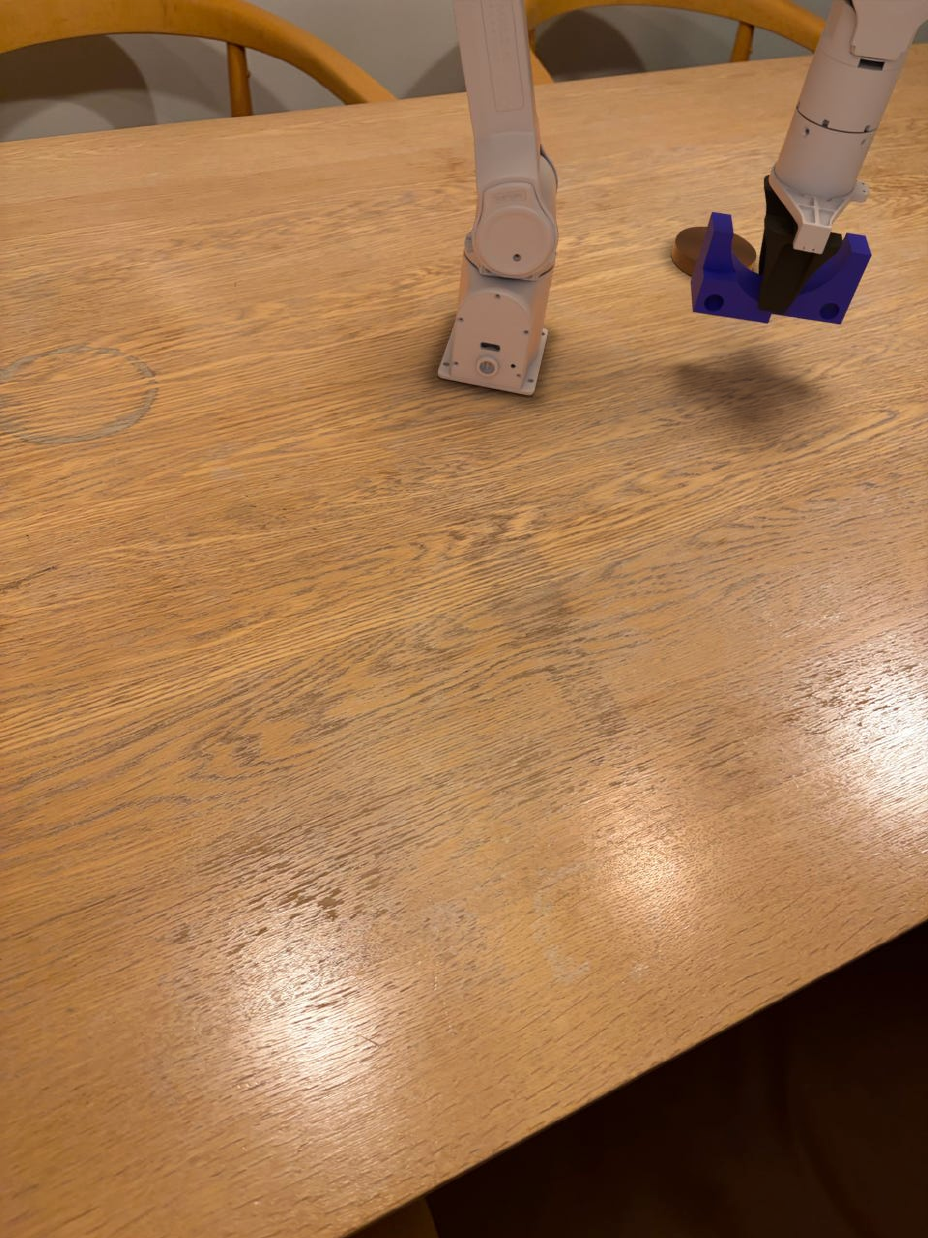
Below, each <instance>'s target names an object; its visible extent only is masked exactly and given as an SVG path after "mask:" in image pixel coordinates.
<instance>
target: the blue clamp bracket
mask: <svg viewBox="0 0 928 1238" xmlns="http://www.w3.org/2000/svg"><path fill="white" fill-rule="evenodd" d="M733 225H734V224H733V217H732V214H731V213H724V212H716V211H711V214H710V217H709V220H708V222H707V226H706V227H707V230H706V233H705V236H704V239H703V243H702V246H701V249H700V252H699V256H698V259H697V262H696V266H695V269H694V272H693V275H692V276H691V279H690V294H691V295H690V296H691V307H692V313H695V314H702V315H708V316H715V317H721V318H728V319H734V320H740V321H741V320H742V321H747V322H753V323H760V324H767V325H768V324H769V322H770V320H771V317H772V315H774V316H781V317H788V318H793V319H794V318H795V319H800V320H807V321H813V322H814V321H815V322H820V323H826V324H833V325H839V326H840V325H842V323H843V321H844V319H845V316H846V314H847V311H848V309H849V308H850V305H851V303H852V302H853V301H852V300H853V298H854V296H855V294H856V292H857V289H858V287H859V285H860V282H861V280H862V278H863V276H864V274H865V271H866V269H867V267H868V265H869V263H870V260H871V258H872V256H873V254H872V252H871V248H870V245H869V242H868V238H867V235H866V234H859V233H852V232H846V233H845V235H844V236H843V238H842V242H843V244H842V246H841V248H840V250H839V251H838V253H837V254H836V255H835V256H833V257H832V258H830V259H829V260H828V261H827V262H825V263H824V264H823V265H822V266H821V267H820V268H819V269H818V270H817V271H816V272H815V273H814V274H813V275H812V277H811V278H810V279H809V280H808V282H807V283H806V284H805V286H804V287H803V289H802V290H801V292H800V293H799V294H798V296H797V297H796V299H795V300H794V302H793V303H792V305H791V306H790V307H789V309H788V310H787V311H786V312H785V314H779V313H773V312H768V311H763V310H759V309H758V304H759V291H760V285H761V280H762V276H763V275H760V274H758V272H755V271H753V270H752V271H751V270H750V269H748V268H747V267H745V266H744V265H743V264H742V263H741V262H740V261H739V260H738V259H737V257H736V256H735V254H734V252H733V250H732V248H731V244H732V239H733V235H734V233H735V231H734V226H733Z"/></svg>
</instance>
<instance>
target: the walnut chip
mask: <svg viewBox="0 0 928 1238" xmlns="http://www.w3.org/2000/svg"><path fill="white" fill-rule="evenodd" d="M706 230H707V226H705V225H704V226H701V225H700V226H691V227H687V228H684V229H682V230H681V231H679V232H678V233H677V234H676V235H675V238H674V242H673V245H672V249H671V253H670V254H671V255H670V256H671V259H672V261H673V263H674V264H675V266H676V267H677V268H678V269H680V270H681V271H682V272H684V273H685V274H687V275H689V276H691V277H692V275H693V272H694V269H695V266H696V262H697V259H698V256H699V252H700V249H701V246H702V243H703V239H704V236H705V233H706ZM731 248H732V250H733V252H734V254H735V256H736V257H737V259H738V260H739V261H740V262H741V263H742V264H743V265H744V266H745V267H747V268H748V269H750V270H751V271H753V268H754V266H755V262H756V259H757V252H756V248H755V247H754V246H753V245H752V244H751V242H749V240H747V239H746V238H744V237H743V236H741V235H739V234H737V233H735V232H734V235H733V239H732V244H731Z"/></svg>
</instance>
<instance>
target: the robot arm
mask: <svg viewBox="0 0 928 1238" xmlns="http://www.w3.org/2000/svg"><path fill="white" fill-rule="evenodd" d="M451 2H452V8H453V9H452V10H453V15H454V21H455V27H456V33H457V40H458V46H459V52H460V53H459V54H460V61H461V66H462V73H463V78H464V79H463V80H464V85H465V92H466V97H467V105H468V112H469V117H470V124H471V130H472V137H473V147H474V149H473V150H474V170H475V187H476V188H475V189H476V193H477V194H476V197H477V198H476V203H475V205H476V206H475V215H474V220H473V224H472V228H471V230H470V231H468V232H467V234H465V237H464V243H463V251H462V261H461V269H460V279H459V288H458V298H457V306H456V307H457V308H456V314H455V321H454V324H453V326H452V329H451V333H450V334H449V337H448V341H447V343H446V347H445V349H444V352H443V355H442V357H441V361H440V363H439V366H438V369H437V376H438V377H439V378H440V379H444V380H449V381H453V382H457V383H458V382H459V383H464V384H469V385H474V386H478V387H484V388H489V389H494V390H499V391H504V392H509V393H515V394H519V395H524V396H532V395H534V394H535V391H536V386H537V382H538V378H539V374H540V370H541V365H542V361H543V356H544V352H545V348H546V344H547V339H548V335H549V330H548V329H547V328H546V327H544V325H545V319H546V313H547V309H548V303H549V298H550V291H551V287H552V280H553V276H554V271H555V265H556V260H557V249H558V245H559V238H560V236H559V234H560V233H559V226H558V221H557V193H558V188H559V175H558V171H557V168H556V167H557V166H556V165H555V164H554V161H553V159H552V158H551V157H550V156H549V154H548V153H547V151H546V149H545V147H544V143H543V140H542V135H541V125H540V121H539V117H538V112H537V104H536V96H535V95H536V94H535V85H534V76H533V69H532V68H533V67H532V57H531V49H530V39H529V32H528V31H529V29H528V21H527V12H526V2H525V0H451ZM927 21H928V0H833V1H832V3H831V7H830V10H829V13H828V15H827V19H826V22H825V25H824V27H823V29H822V31H821V33H820V34H819V35H820V36H819V39H818V42H817V44H816V47H815V50H814V53H813V56H812V59H811V62H810V65H809V67H808V70H807V73H806V76H805V79H804V82H803V85H802V88H801V91H800V94H799V97H798V100H797V103H796V106H795V108H794V111H793V114H792V117H791V120H790V122H789V126H788V129H787V132H786V134H785V137H784V140H783V143H782V146H781V149H780V152H779V155H778V158H777V161H776V162H775V163H773V166H772V167H771V170H770V173H769V174H766V175H765V176H764V177H763V192H764V199H765V214H764V218H763V233H762V239H761V244H760V251H759V257H758V268H757V269H758V272H757V273H758V274H760V275H763V276H762V280H761V285H760V291H759V304H758V309H759V310H763V311H768V312H773V313H779V314H785V312H786V311H787V310H788V309H789V307H790V306H791V305H792V303H793V302H794V300H795V299H796V297H797V296H798V294H799V293H800V292H801V290H802V289H803V287H804V286H805V284H806V283H807V282H808V280H809V279H810V278H811V277H812V275H813V274H814V273H815V272H816V271H817V270H818V269H819V268H820V267H821V266H822V265H823V264H824V263H825V262H827V261H828V260H829V259H830V258H832V257H833V256H835V255H836V254H837V253H838V251H839V250H840V248H841V246H842V244H843V242H842V240H843V235H842V233H839V232H834V231H832V230H833V225H834V223H835V222H836V221H837V219H838V218H839V217H840V215H841V214H842V213H843V212H844V210H845V209H846V208H847V207H848V205H849V204H850V203H852V202H856V203H865V202H867V199H868V197H869V195H870V187H869V184H868V183H867V182H865V181H862V180H859V179H858V178H859V175H860V172H861V170H862V169H863V166H864V163H865V161H866V158H867V156H868V153H869V151H870V149H871V146H872V143H873V141H874V138H875V136H876V133H877V131H878V128H879V126H880V125H881V122H882V120H883V118H884V117H883V116H884V114H885V112H886V109H887V107H888V104H889V102H890V100H891V97H892V95H893V93H894V90H895V88H896V85H897V82H898V81H899V77H900V75H901V73H902V70H903V68H904V65H905V63H906V61H907V58H908V55H909V51H910V49H911V46H912V44H913V41H914V40H915V36H916V34H917V32H918V30H919V28H920V27H921V26H922V25H923V24H924V23H925V22H927Z"/></svg>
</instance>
